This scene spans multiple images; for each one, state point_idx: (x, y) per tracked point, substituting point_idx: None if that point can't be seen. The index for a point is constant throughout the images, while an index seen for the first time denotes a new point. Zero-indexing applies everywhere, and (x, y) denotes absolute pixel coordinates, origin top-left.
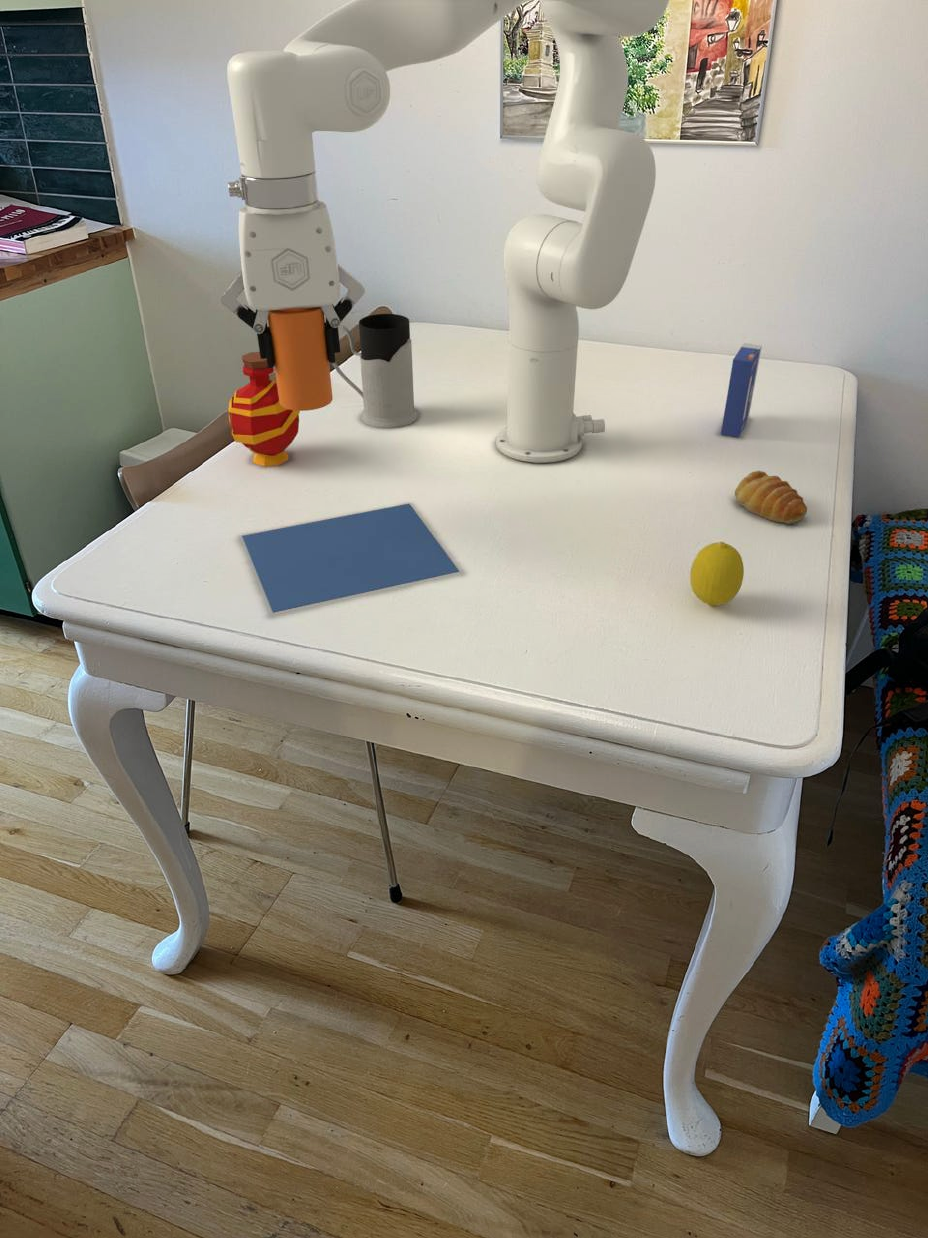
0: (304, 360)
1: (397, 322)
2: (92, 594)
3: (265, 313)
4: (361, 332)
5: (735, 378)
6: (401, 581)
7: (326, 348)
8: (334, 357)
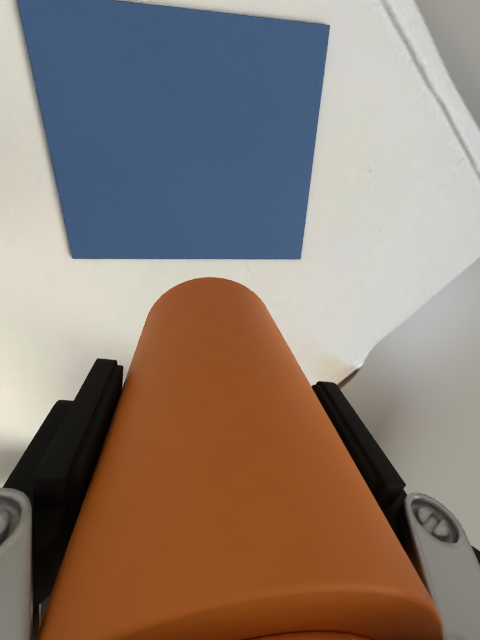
0: (230, 343)
1: None
2: (476, 199)
3: (458, 618)
4: (47, 602)
5: None
6: (125, 10)
7: (115, 411)
8: (94, 367)
